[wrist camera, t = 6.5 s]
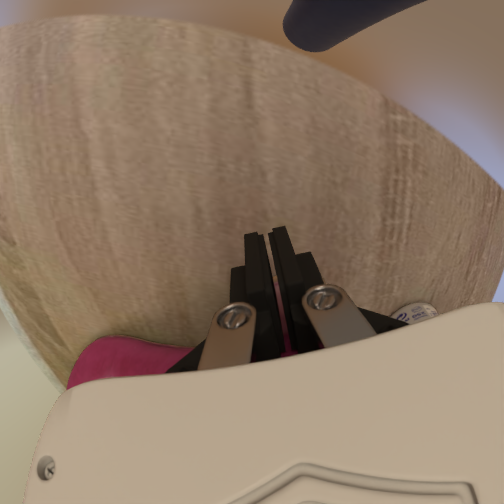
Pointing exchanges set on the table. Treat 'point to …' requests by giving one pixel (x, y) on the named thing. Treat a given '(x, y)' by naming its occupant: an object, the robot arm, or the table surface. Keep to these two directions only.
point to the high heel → (141, 355)
